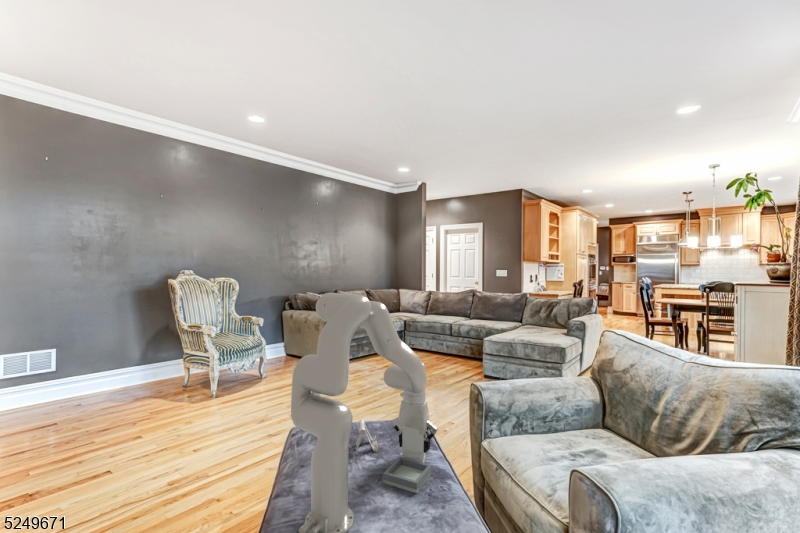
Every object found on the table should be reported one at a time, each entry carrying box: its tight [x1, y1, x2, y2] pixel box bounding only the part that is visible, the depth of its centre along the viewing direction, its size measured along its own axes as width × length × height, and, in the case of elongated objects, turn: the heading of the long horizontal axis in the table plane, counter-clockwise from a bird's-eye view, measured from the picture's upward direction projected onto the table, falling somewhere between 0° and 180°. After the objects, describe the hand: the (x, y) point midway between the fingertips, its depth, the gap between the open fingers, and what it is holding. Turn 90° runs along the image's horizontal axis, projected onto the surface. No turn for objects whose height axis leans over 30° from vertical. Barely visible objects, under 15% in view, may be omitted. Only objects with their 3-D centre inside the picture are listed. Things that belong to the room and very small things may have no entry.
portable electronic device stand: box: [355, 419, 379, 452], centre depth 140 cm, size 9×8×8 cm
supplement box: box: [401, 426, 426, 463], centre depth 130 cm, size 7×7×13 cm
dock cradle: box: [382, 456, 433, 494], centre depth 119 cm, size 12×12×3 cm
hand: (414, 448), depth 130 cm, fingers closed on supplement box, 8 cm apart
